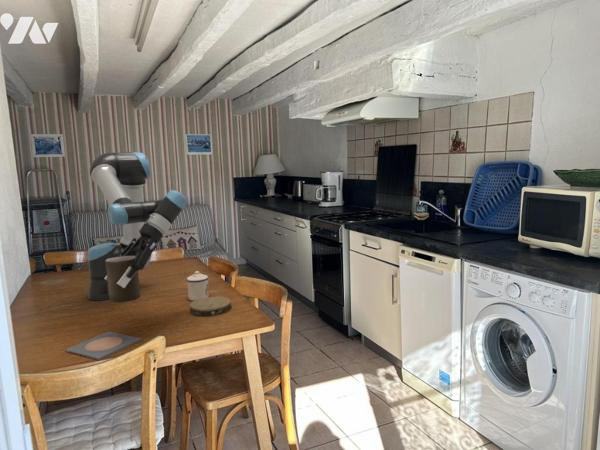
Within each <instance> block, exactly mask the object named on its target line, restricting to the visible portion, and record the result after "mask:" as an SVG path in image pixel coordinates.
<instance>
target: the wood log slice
mask: <svg viewBox="0 0 600 450" xmlns="http://www.w3.org/2000/svg"><path fill="white" fill-rule="evenodd" d="M231 300H232V299H230V298H228V297H224V296H209V297H207V298H202V299H198V300H196V301H192V302H191V303H189V310H190V314H191V315H192V316H195V317H214V316H219V315H223V314H226V313H228V312H229V311H231V310H232V301H231Z"/></svg>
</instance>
